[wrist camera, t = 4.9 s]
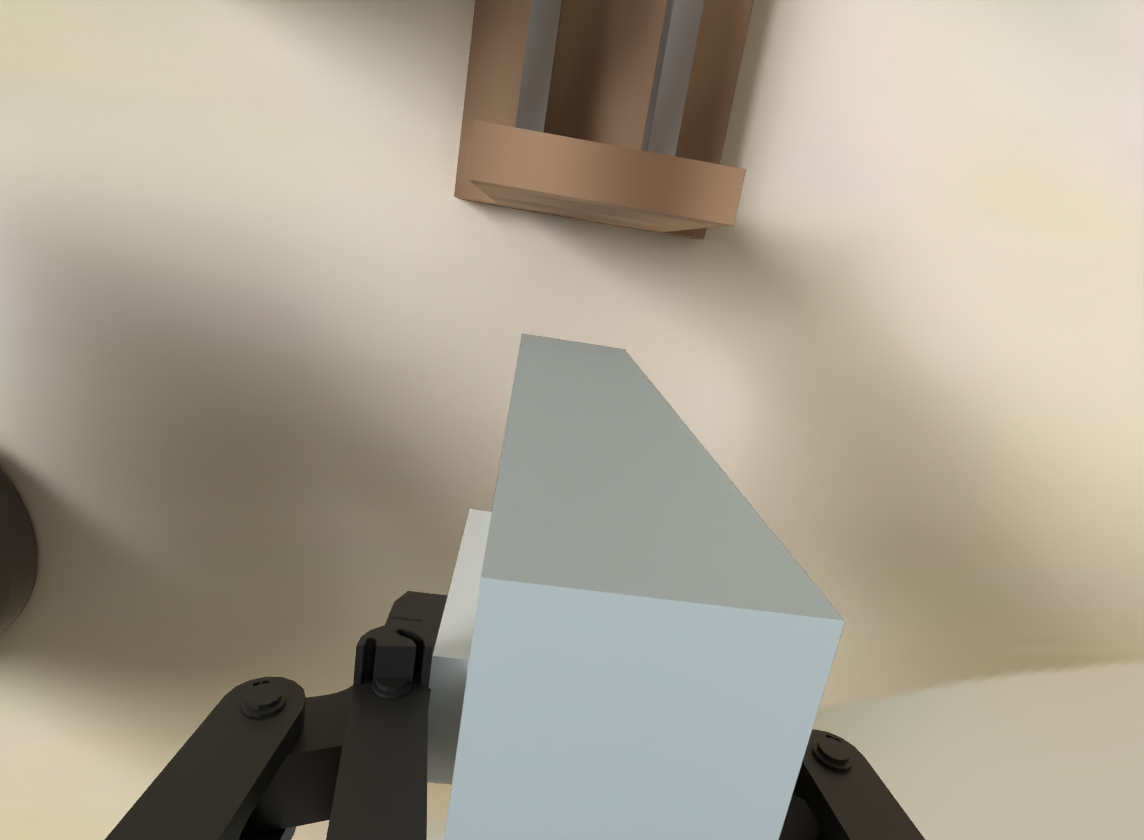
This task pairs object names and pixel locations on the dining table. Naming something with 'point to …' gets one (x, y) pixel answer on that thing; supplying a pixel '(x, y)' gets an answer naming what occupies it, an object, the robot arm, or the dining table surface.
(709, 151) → the track frame
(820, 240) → the dining table surface
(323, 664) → the dining table surface
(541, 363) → the door panel
